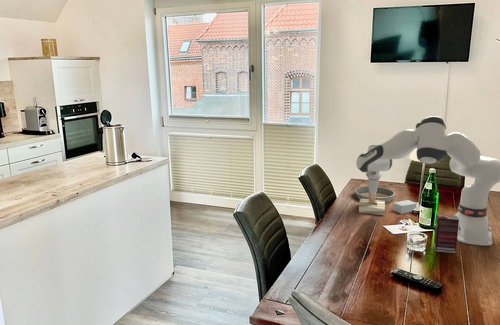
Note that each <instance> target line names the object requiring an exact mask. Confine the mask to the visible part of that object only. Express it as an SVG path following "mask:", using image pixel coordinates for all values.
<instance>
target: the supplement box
mask: <svg viewBox="0 0 500 325" xmlns="http://www.w3.org/2000/svg"><path fill="white" fill-rule="evenodd" d="M458 225H459V219H458V218H457V216H454V215H445V214H444V215H443V214H436V215H435V226H434V238H433V246H432V247H433V249H434V251H435V252H439V253H452V254H455V253H457V252H456V251H457V243H458V239H457V235H458Z"/></svg>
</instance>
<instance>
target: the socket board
mask: <svg viewBox="0 0 500 325" xmlns="http://www.w3.org/2000/svg"><path fill="white" fill-rule="evenodd" d="M368 200H369V199H359V204H358V205H359V206H358V214H363V215H364V214H365V215H376V216H378V215H379V216H385V214H386V203H385V201H380V200H376V202H369V201H368Z"/></svg>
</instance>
